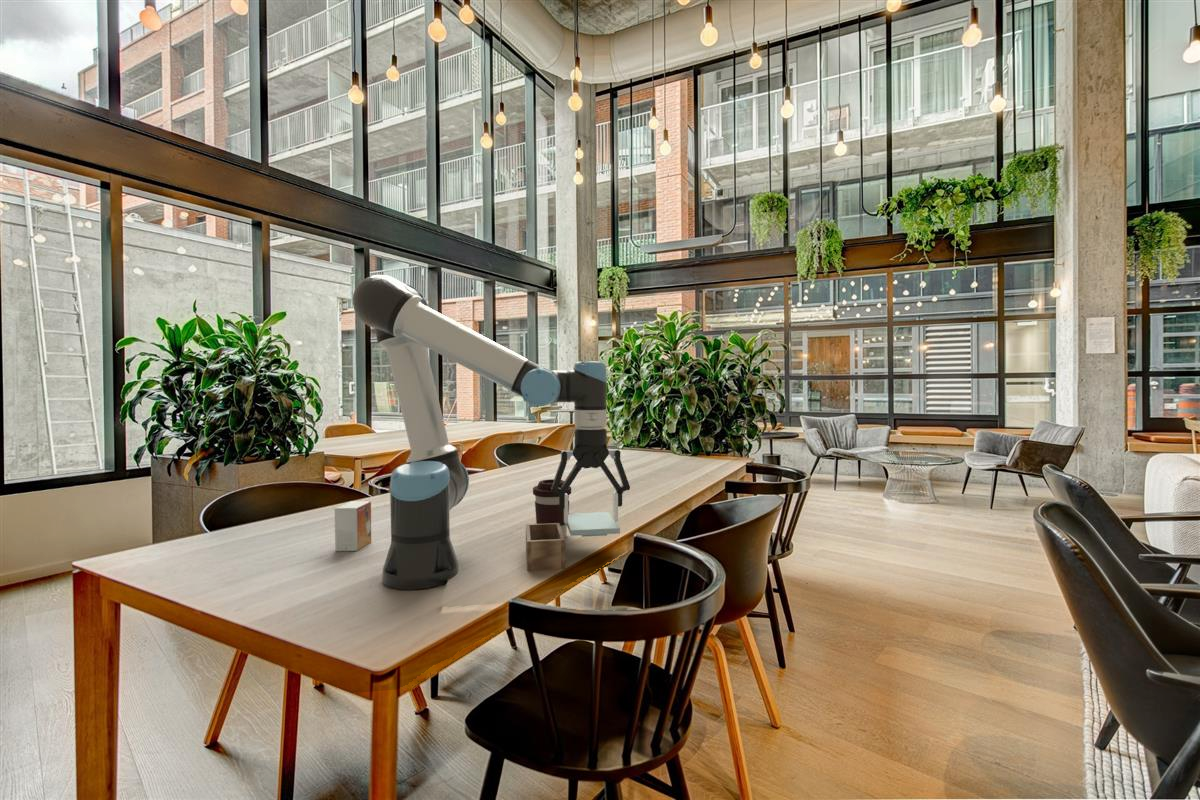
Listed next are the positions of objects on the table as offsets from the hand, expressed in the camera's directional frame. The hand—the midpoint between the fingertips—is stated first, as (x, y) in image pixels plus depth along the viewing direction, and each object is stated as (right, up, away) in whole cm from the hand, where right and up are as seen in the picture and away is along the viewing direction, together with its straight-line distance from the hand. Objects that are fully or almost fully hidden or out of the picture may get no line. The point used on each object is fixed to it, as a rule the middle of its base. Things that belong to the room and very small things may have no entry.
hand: (590, 521), depth 127 cm
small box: (-59, -8, +7) cm, 60 cm away
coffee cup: (-10, -8, +14) cm, 19 cm away
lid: (0, -1, 0) cm, 1 cm away
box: (-10, -8, -4) cm, 14 cm away
